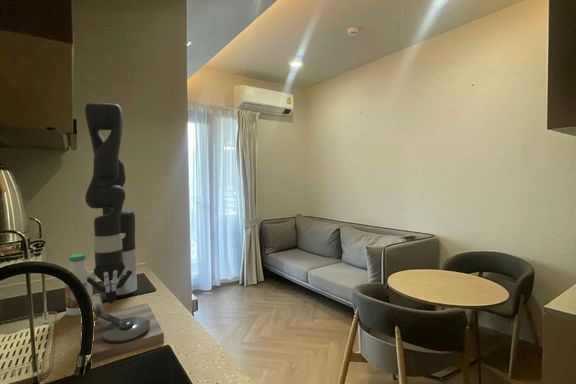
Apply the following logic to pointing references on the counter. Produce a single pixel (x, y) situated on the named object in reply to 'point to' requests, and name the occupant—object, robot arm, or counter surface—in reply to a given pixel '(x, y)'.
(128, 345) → the stand
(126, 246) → the robot arm
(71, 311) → the milk bottle
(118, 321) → the gray disc with handle
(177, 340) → the counter surface
